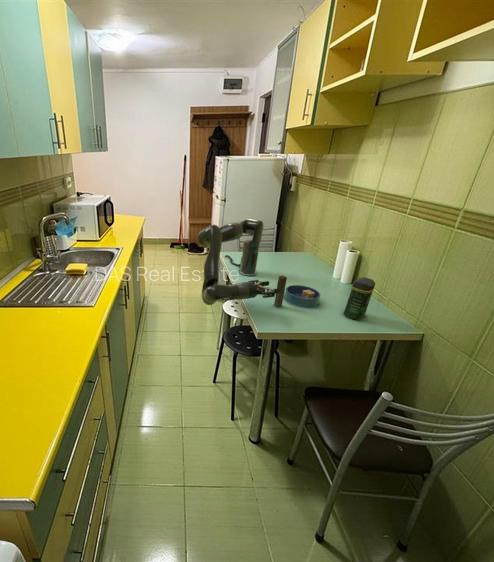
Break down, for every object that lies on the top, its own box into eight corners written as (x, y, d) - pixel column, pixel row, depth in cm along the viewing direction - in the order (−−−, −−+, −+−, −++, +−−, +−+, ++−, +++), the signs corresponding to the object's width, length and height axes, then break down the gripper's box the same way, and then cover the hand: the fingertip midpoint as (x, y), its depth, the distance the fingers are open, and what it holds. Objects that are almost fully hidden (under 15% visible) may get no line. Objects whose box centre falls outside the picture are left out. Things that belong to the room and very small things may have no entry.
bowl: (277, 295, 160) (279, 287, 158) (302, 291, 164) (304, 283, 162) (298, 310, 146) (300, 300, 144) (325, 305, 150) (327, 296, 148)
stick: (273, 305, 149) (278, 275, 143) (278, 304, 150) (283, 275, 144) (277, 308, 147) (282, 277, 141) (281, 307, 148) (287, 277, 141)
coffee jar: (359, 322, 136) (371, 285, 129) (341, 315, 141) (351, 279, 134) (367, 315, 142) (378, 279, 135) (348, 309, 147) (359, 274, 140)
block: (301, 297, 157) (303, 290, 155) (307, 296, 158) (309, 289, 157) (306, 300, 154) (308, 293, 152) (313, 299, 155) (315, 292, 153)
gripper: (254, 289, 130) (285, 285, 135) (237, 277, 143) (266, 273, 148) (251, 305, 133) (282, 300, 138) (235, 291, 146) (264, 287, 151)
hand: (274, 286), depth 143 cm, fingers open, 8 cm apart
